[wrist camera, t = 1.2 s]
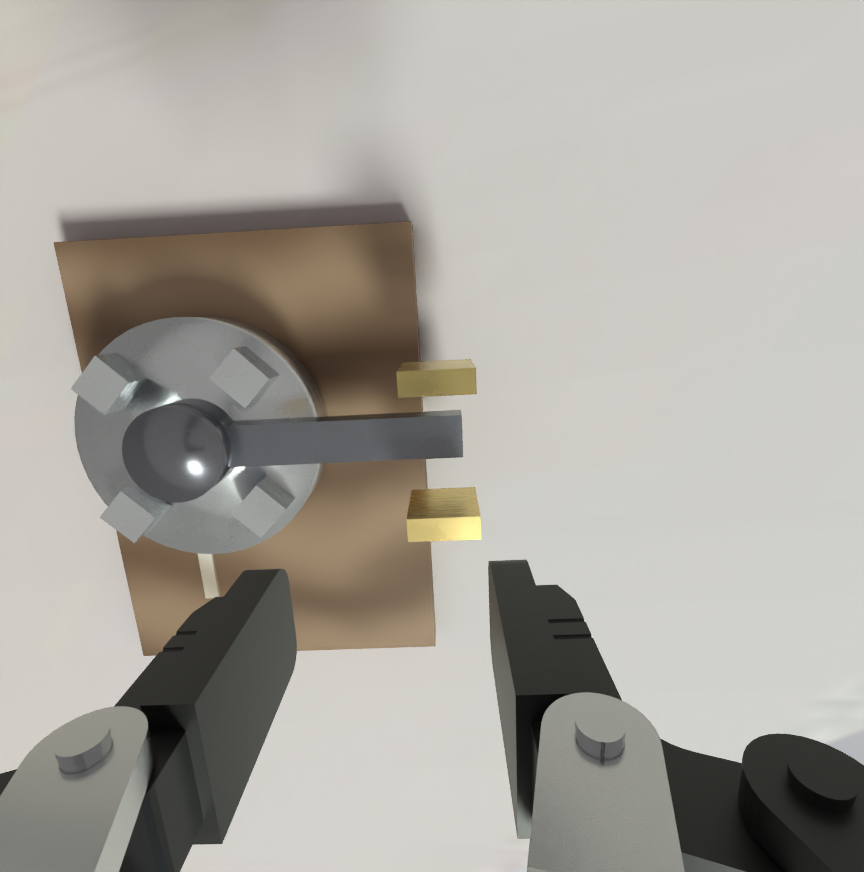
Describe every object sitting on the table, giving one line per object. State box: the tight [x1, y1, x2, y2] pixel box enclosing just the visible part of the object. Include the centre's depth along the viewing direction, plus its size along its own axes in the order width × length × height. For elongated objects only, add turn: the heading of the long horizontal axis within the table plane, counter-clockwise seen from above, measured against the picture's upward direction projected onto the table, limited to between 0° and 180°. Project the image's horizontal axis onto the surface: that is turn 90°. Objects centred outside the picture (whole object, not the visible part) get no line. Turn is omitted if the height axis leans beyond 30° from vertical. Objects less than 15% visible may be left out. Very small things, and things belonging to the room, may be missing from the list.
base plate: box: [54, 221, 436, 656], centre depth 28 cm, size 24×18×2 cm
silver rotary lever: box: [71, 317, 481, 554], centre depth 23 cm, size 12×20×7 cm, turn 93°
